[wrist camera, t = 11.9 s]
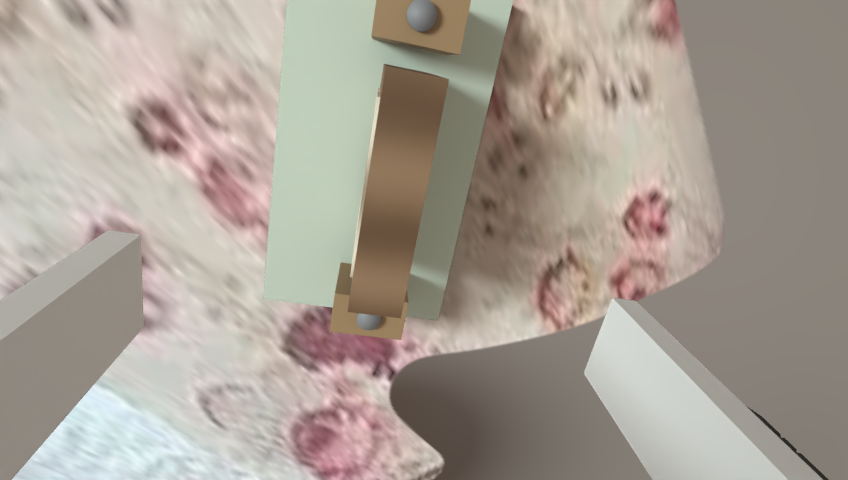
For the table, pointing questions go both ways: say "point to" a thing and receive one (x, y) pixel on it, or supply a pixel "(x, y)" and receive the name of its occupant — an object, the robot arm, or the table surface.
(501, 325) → the table surface
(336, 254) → the wall board
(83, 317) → the robot arm
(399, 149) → the wooden frame
